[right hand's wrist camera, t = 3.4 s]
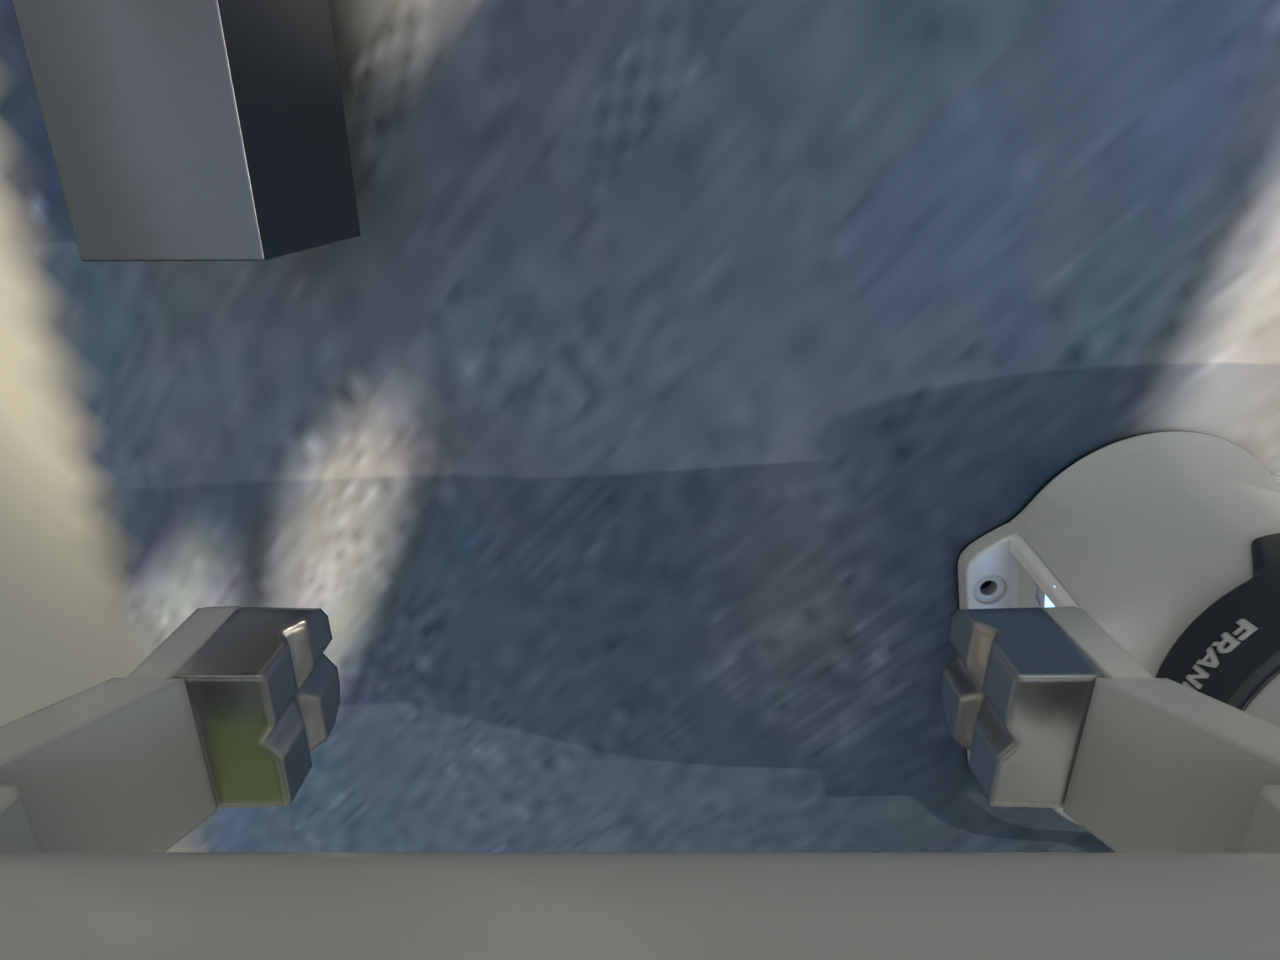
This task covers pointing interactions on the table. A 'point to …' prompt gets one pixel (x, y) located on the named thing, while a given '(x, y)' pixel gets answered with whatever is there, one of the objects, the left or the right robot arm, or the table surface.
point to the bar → (193, 125)
